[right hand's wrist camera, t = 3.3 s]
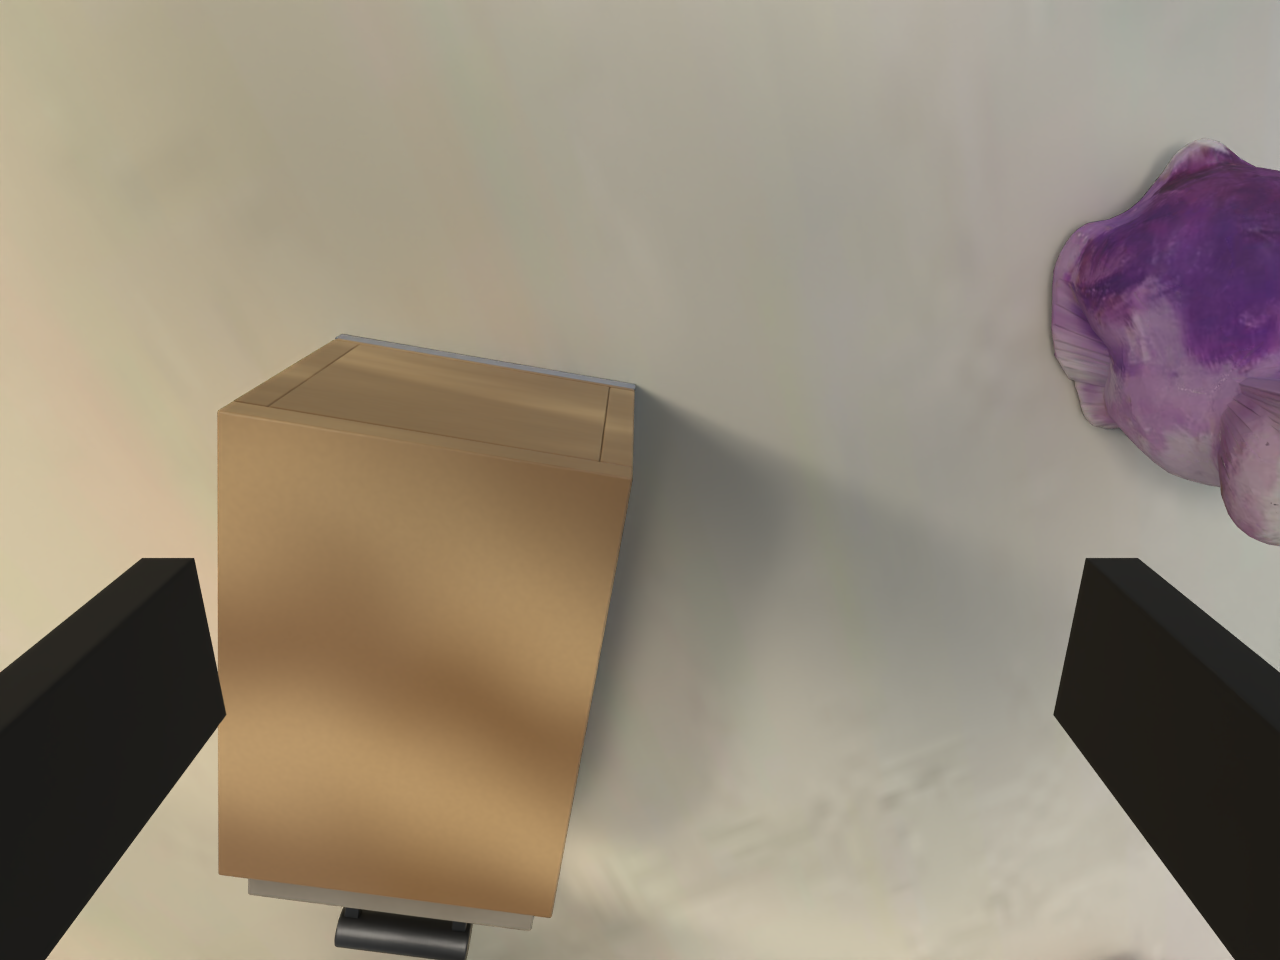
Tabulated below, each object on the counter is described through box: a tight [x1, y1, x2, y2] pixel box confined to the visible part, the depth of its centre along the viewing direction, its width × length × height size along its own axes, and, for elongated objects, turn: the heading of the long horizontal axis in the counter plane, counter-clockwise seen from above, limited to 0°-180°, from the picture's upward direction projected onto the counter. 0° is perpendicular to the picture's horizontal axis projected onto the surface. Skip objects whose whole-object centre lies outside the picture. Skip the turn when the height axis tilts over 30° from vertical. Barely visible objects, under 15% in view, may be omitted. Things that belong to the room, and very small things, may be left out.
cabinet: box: [217, 334, 635, 918], centre depth 32 cm, size 17×12×10 cm
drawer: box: [248, 879, 534, 960], centre depth 33 cm, size 22×10×8 cm, turn 170°
